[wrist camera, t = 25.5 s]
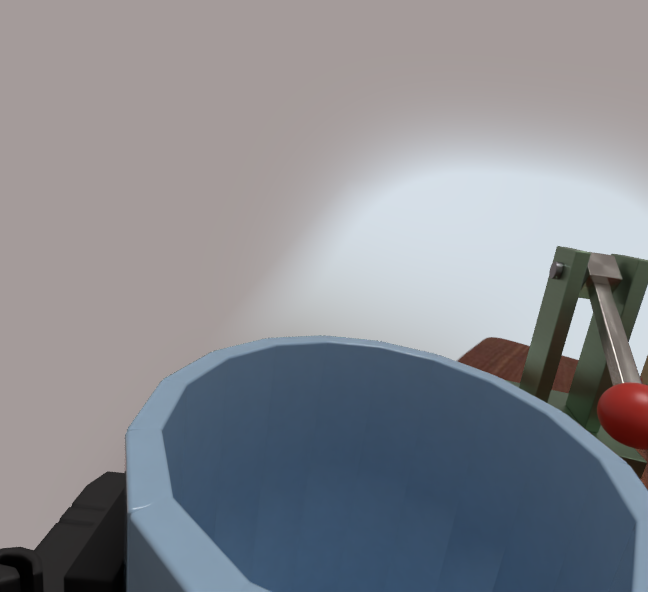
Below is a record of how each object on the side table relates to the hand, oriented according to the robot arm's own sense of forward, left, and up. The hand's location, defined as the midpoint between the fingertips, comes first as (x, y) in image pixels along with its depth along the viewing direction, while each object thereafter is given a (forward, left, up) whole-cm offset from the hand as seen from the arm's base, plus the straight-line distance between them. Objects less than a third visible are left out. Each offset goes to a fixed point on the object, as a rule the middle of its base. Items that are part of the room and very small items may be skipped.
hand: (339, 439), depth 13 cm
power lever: (+8, +22, 0) cm, 23 cm away
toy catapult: (+6, +26, -8) cm, 28 cm away
